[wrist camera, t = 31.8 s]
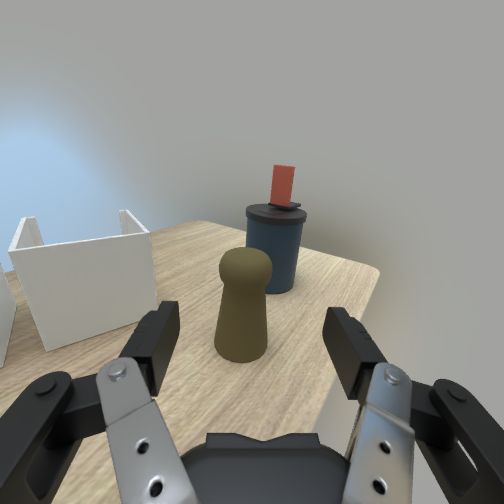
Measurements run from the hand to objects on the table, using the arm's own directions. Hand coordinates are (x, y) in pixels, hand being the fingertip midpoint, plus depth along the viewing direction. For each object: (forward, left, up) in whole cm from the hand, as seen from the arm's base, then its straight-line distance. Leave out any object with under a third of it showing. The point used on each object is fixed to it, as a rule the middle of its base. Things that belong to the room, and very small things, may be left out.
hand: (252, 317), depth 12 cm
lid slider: (+23, -13, +1) cm, 27 cm away
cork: (+10, -3, -12) cm, 16 cm away
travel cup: (+22, -11, -12) cm, 27 cm away
